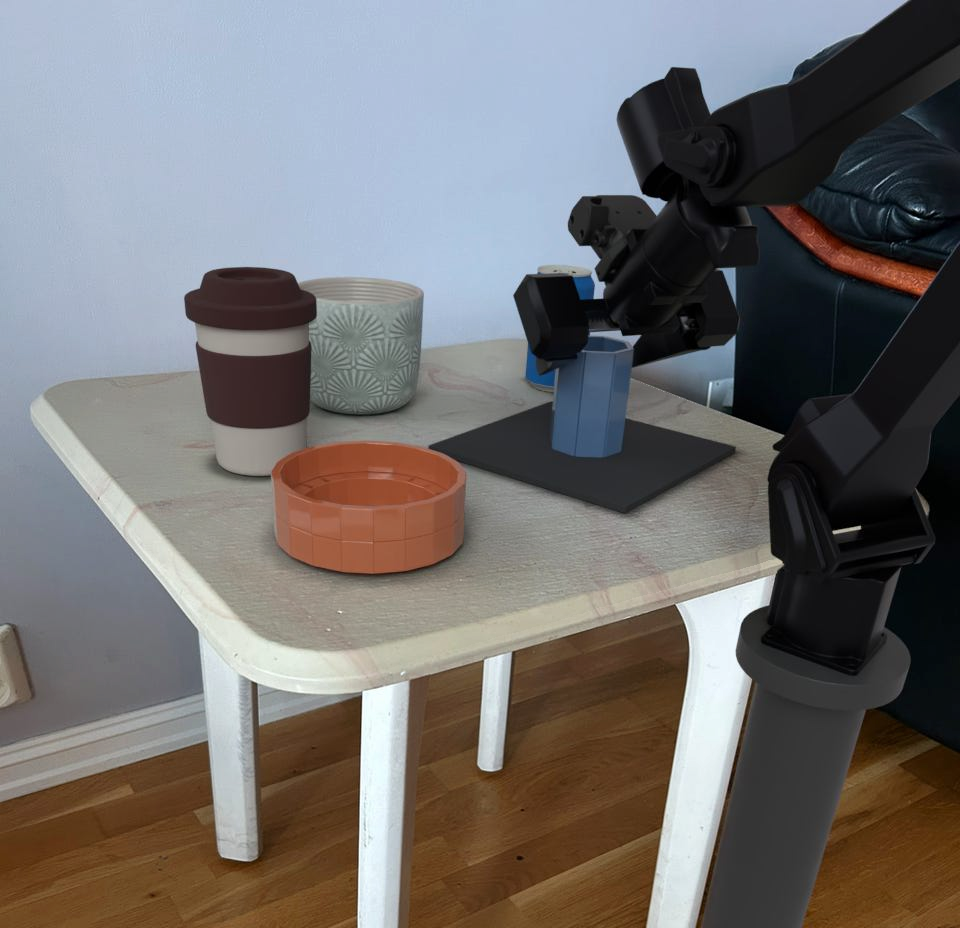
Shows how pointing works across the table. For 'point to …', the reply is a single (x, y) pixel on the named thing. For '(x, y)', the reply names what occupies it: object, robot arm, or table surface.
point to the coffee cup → (253, 363)
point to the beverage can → (585, 291)
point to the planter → (364, 343)
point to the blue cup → (592, 399)
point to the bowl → (368, 506)
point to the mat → (586, 459)
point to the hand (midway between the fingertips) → (584, 366)
